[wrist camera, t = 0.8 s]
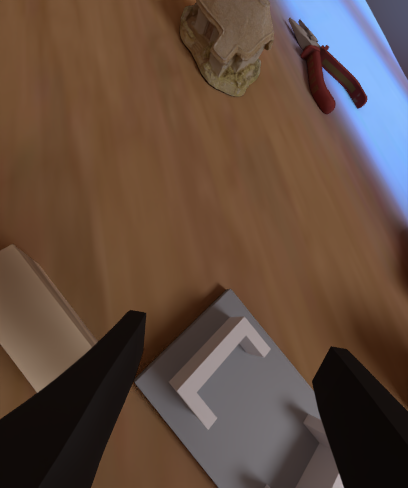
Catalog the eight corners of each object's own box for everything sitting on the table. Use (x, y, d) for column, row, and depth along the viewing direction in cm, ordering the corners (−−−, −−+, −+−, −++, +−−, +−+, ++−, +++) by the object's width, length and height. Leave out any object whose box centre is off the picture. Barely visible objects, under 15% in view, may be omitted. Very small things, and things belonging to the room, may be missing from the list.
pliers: (310, 27, 49) (319, 12, 47) (359, 110, 46) (373, 99, 44) (267, 25, 44) (276, 8, 42) (320, 118, 42) (333, 106, 39)
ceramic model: (269, 81, 39) (316, 9, 30) (225, 106, 34) (265, 29, 25) (211, 14, 39) (240, -77, 30) (158, 30, 34) (174, -74, 25)
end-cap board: (281, 565, 21) (317, 616, 17) (133, 379, 21) (137, 392, 17) (345, 436, 26) (382, 455, 22) (226, 289, 26) (244, 284, 23)
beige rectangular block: (85, 408, 19) (74, 441, 14) (-6, 289, 20) (-51, 276, 14) (122, 374, 21) (126, 392, 16) (38, 263, 21) (12, 243, 16)
